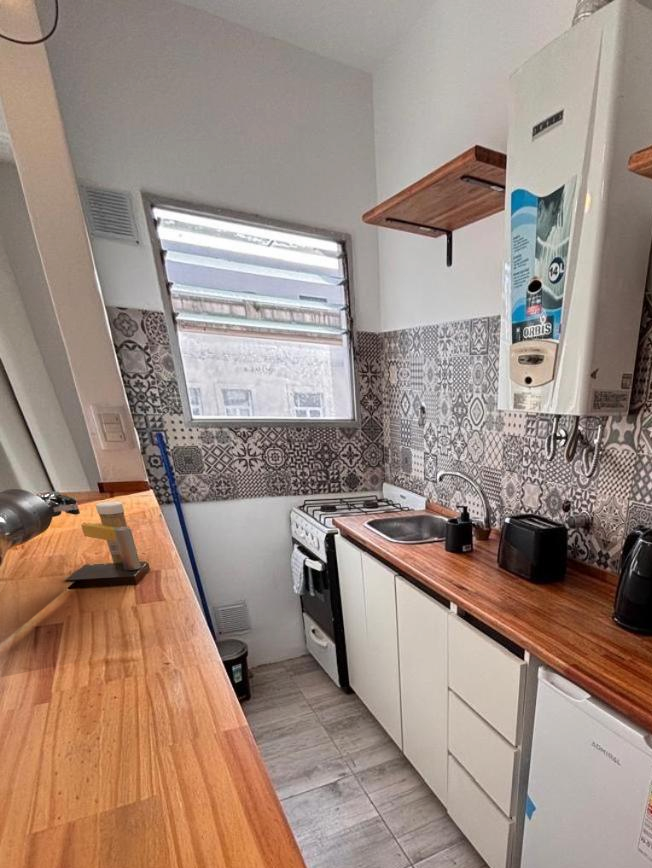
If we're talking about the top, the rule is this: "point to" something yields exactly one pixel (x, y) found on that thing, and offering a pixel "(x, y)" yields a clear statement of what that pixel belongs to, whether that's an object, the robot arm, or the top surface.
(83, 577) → the stove plate
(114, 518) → the sprinkles bottle
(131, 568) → the gas tap
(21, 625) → the top surface
